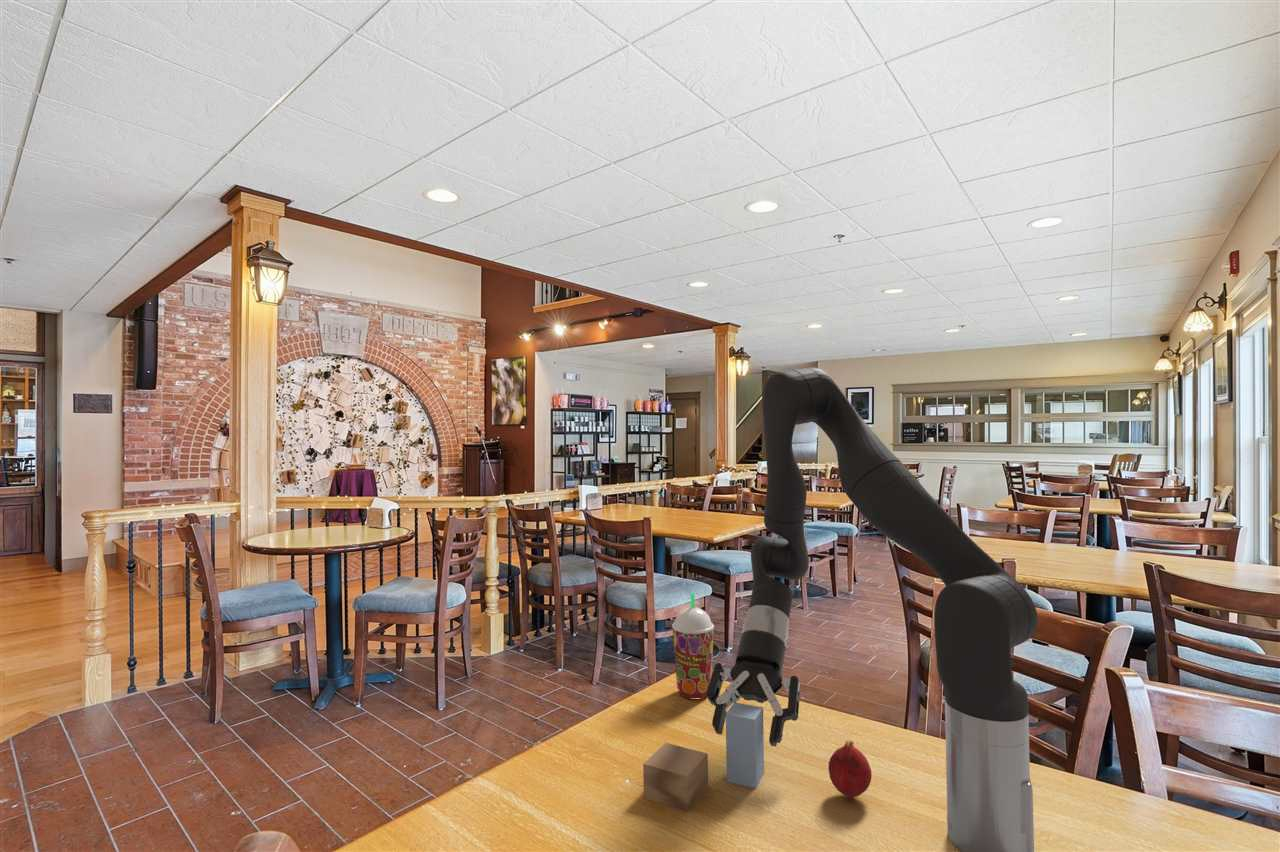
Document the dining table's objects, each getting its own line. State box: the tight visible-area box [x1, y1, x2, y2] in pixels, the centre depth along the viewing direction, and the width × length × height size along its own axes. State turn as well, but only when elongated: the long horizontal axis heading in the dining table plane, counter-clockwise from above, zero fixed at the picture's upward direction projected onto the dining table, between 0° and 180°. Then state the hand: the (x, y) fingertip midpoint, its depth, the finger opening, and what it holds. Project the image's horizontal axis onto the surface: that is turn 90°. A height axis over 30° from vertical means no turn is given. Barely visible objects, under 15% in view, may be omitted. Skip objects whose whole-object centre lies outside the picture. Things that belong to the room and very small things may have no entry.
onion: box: [828, 739, 872, 799], centre depth 88 cm, size 6×6×8 cm
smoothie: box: [671, 593, 715, 699], centre depth 124 cm, size 8×8×20 cm
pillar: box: [725, 702, 765, 789], centre depth 94 cm, size 4×4×10 cm
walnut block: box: [642, 742, 709, 813], centre depth 90 cm, size 7×7×5 cm
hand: (744, 738), depth 94 cm, fingers open, 8 cm apart
